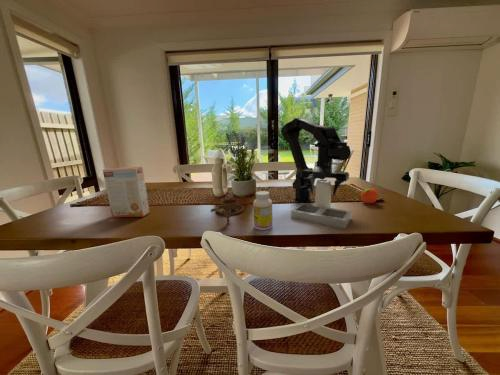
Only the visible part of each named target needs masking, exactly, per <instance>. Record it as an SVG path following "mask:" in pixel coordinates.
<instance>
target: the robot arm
mask: <svg viewBox="0 0 500 375" xmlns="http://www.w3.org/2000/svg"><path fill="white" fill-rule="evenodd" d="M302 130H304V131H305V132H307V133H309V134H311V135H312V136H313V138H314V139H315V140H316V141H317V142H316V143H315V145H314V147H316V148H317V160H316V164H315V167H314V168H312V167H309V166H308V165H307V162H306V159H305V156H304V153H303V150H302V147H301V144H300V141H299V137H300V134H301V133H300V132H301V131H302ZM280 132H281V135H282V137H283V140H285V141H286V142H287V144H288V145H289V149H290V152H291V154H292V158H293V161H294V164H295V168H296V172H295V179H294V180H293V182H292V185H291V186H292V188H293V189H295V198H294V199H293V200H294V201H296V202H297V201H298V202H301V203H307V202H309V201H310V200H311V199H312V194H314V193H315V181H316V179H317V180H326V178H332V179H335V180H334V187H333V193H332V196H333V197H335V196H336V194H337V191H338V189H339V188H340V185H341V184H342V183H344V182H347V181H348V180H349V179H350V173H349V172H347V171H337V172H335V173H333V170H332V168H333V166H332V165H333V160H335V161H347V160H348V159H349V158H350V156H351V152H352V151H351V148H350V146H348V142H347V141H341V138H340V136H339V134H338V133H337V129H336V128H335V127H334V126H329V125H321V124H318V123H315V122H313V121H311V120H309V119H306V118H305V117H295V118H293V119H292V120H290V121H288V122H287V123H285V124H284V125H283V126H282V127H281V130H280Z"/></svg>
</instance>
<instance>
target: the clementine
mask: <svg viewBox="0 0 500 375" xmlns="http://www.w3.org/2000/svg"><path fill="white" fill-rule="evenodd" d="M360 199H361V200H362V202H363V203H365V204H368V205H369V204H374V203H375V202H376V201H378V199H379V193H378V192H377V190H375V189H374V188H371V187H370V188H365V189H363V190H362V191H361V193H360Z"/></svg>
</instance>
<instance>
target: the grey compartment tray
mask: <svg viewBox="0 0 500 375" xmlns="http://www.w3.org/2000/svg"><path fill="white" fill-rule="evenodd" d="M352 214H353V210H352V211H351V210H345V209H339V208H333V207H330V208H328V207H322V206H316V205H315V204H310V203H305V202H301V203H300V204H298V205H297V206H295V207H294V208H292V209H291V211H290V218H291V219H295V220H300V221H305V222H309V223H316V224H319V225H324V226H330V227H335V228H337V229H338V228H339V229H343V230H345V229H346V228H347V227H348V225H349V223H350V221H351V220H352V217H353V216H352Z"/></svg>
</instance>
